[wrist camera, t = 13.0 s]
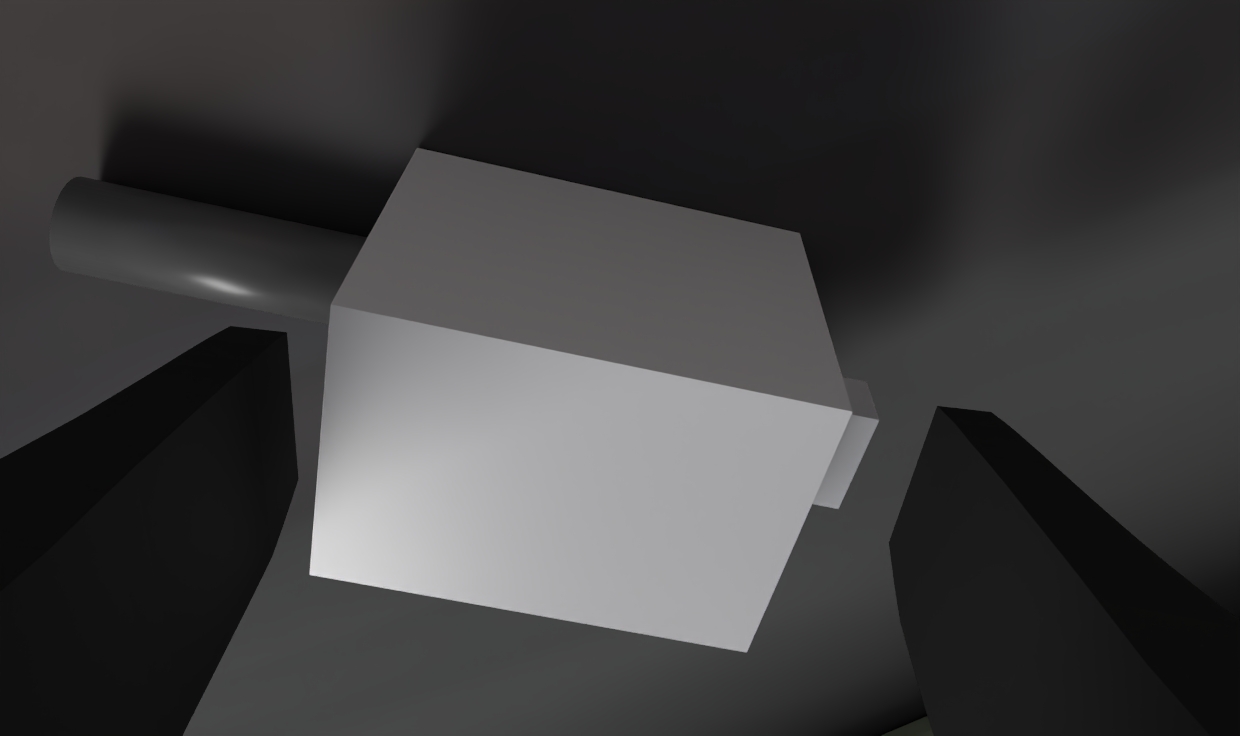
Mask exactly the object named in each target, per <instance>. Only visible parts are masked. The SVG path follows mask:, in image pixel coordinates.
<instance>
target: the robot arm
mask: <svg viewBox="0 0 1240 736" xmlns="http://www.w3.org/2000/svg"><path fill="white" fill-rule="evenodd" d="M297 481H298V469H297V456H296V443H295V431H294V418H293V405H292V392H291V380H290V367H289V354H288V341H287V333H286V332H277V331H269V330H260V329H251V328H242V327H233V326H230V327H228V328H226V329H224V330H222V331H221V332H219V333H217V334H215V335H213V336H211V337H210V338H208V339H206V340H205V341H203V342H201V343H199V344H198V345H196V346H194V347H193V348H191V349H190V350H188V351H186V352H185V353H183V354H181V355H180V356H178V357H176V358H175V359H173V360H172V361H170V362H168V363H167V364H165V365H163V366H162V367H160V368H159V369H157V370H155V371H154V372H152V373H150V374H149V375H147V376H146V377H144V378H142V379H141V380H139V381H137V382H136V383H134V384H132V385H131V386H129V387H127V388H126V389H124V390H122V391H121V392H119V393H117V394H116V395H114V396H112V397H111V398H109V399H107V400H106V401H104V402H102V403H101V404H99V405H97V406H96V407H94V408H92V409H91V410H89V411H87V412H85V413H84V414H82V415H80V416H79V417H77V418H75V419H73V420H71V421H69V422H68V423H66V424H64V425H62V426H60V427H58V428H56V429H55V430H53V431H51V432H49V433H47V434H45V435H44V436H42V437H40V438H38V439H36V440H34V441H32V442H31V443H29V444H27V445H25V446H23V447H21V448H20V449H18V450H16V451H14V452H12V453H10V454H9V455H7V456H5V457H3V458H1V459H0V736H183V734H184V731H185V729H186V727H187V725H188V723H189V721H190V719H191V717H192V715H193V713H194V711H195V709H196V707H197V706H198V704H199V702H200V700H201V698H202V696H203V694H204V692H205V690H206V688H207V686H208V684H209V682H210V680H211V678H212V676H213V674H214V672H215V670H216V668H217V666H218V664H219V662H220V660H221V658H222V656H223V654H224V652H225V650H226V648H227V646H228V644H229V642H230V640H231V638H232V636H233V634H234V632H235V630H236V628H237V626H238V625H239V623H240V621H241V619H242V617H243V615H244V613H245V611H246V609H247V607H248V605H249V602H250V600H251V598H252V596H253V594H254V592H255V590H256V588H257V586H258V584H259V582H260V580H261V578H262V576H263V574H264V572H265V570H266V568H267V566H268V564H269V562H270V560H271V558H272V555H273V552H274V550H275V547H276V544H277V541H278V538H279V536H280V533H281V530H282V527H283V524H284V521H285V518H286V515H287V512H288V509H289V506H290V503H291V500H292V497H293V494H294V491H295V488H296V485H297ZM889 546H890V554H891V562H892V569H893V577H894V585H895V591H896V597H897V604H898V610H899V616H900V622H901V626H902V629H903V633H904V637H905V640H906V644H907V647H908V651H909V654H910V658H911V661H912V665H913V668H914V672H915V675H916V679H917V682H918V686H919V689H920V692H921V696H922V699H923V702H924V706H925V709H926V712H927V716H928V719H929V723H930V726H931V729H932V733H933V736H1240V620H1239V619H1237V618H1236V617H1235V616H1233V615H1232V614H1231V613H1229V612H1228V611H1226V610H1225V609H1224V608H1223V607H1221V606H1220V605H1219V604H1217V603H1216V602H1215V601H1214V600H1212V599H1211V598H1210V597H1208V596H1207V595H1206V594H1205V593H1203V592H1202V591H1201V590H1200V589H1198V588H1197V587H1196V586H1195V585H1193V584H1192V583H1191V582H1190V581H1188V580H1187V579H1186V578H1184V577H1183V576H1182V575H1181V574H1179V573H1178V572H1177V571H1176V570H1174V569H1173V568H1172V567H1171V566H1169V565H1168V564H1167V563H1166V562H1164V561H1163V560H1162V559H1161V558H1160V557H1158V556H1157V555H1156V554H1155V553H1154V552H1152V551H1151V550H1150V549H1149V548H1148V547H1146V546H1145V545H1144V544H1143V543H1142V542H1140V541H1139V540H1138V539H1137V538H1136V537H1135V536H1133V535H1132V534H1131V533H1130V532H1129V531H1128V530H1126V529H1125V528H1124V527H1123V526H1122V525H1121V524H1120V523H1118V522H1117V521H1116V520H1115V519H1114V518H1113V517H1112V516H1110V515H1109V514H1108V513H1107V512H1106V511H1105V510H1104V509H1102V508H1101V507H1100V506H1099V505H1098V504H1097V503H1096V502H1094V501H1093V500H1092V499H1091V498H1090V497H1089V496H1088V495H1087V494H1085V493H1084V492H1083V491H1082V490H1081V489H1080V488H1079V487H1078V486H1077V485H1075V484H1074V483H1073V482H1072V481H1071V480H1070V479H1069V478H1068V477H1067V476H1065V475H1064V474H1063V473H1062V472H1061V471H1060V470H1059V469H1058V468H1056V467H1055V466H1054V465H1053V464H1052V463H1051V462H1050V461H1049V460H1048V459H1046V458H1045V457H1044V456H1043V455H1042V454H1041V453H1040V452H1039V451H1037V450H1036V449H1035V448H1034V447H1033V446H1032V445H1031V444H1030V443H1028V442H1027V441H1026V440H1025V439H1024V438H1023V437H1022V436H1020V435H1019V434H1018V433H1017V432H1016V431H1015V430H1013V429H1012V428H1011V427H1010V426H1008V425H1007V424H1006V423H1005V422H1003V421H1002V420H1001V419H1000V418H998V417H997V416H996V415H994V414H993V413H992V412H985V411H976V410H968V409H959V408H950V407H941V406H937V409H936V411H935V414H934V417H933V420H932V423H931V425H930V428H929V431H928V434H927V437H926V440H925V442H924V445H923V448H922V451H921V454H920V457H919V459H918V462H917V465H916V468H915V471H914V473H913V476H912V479H911V482H910V485H909V488H908V490H907V493H906V496H905V499H904V502H903V505H902V507H901V510H900V513H899V516H898V519H897V521H896V524H895V527H894V530H893V533H892V536H891V538H890V541H889Z"/></svg>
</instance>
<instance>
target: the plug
mask: <svg viewBox="0 0 1240 736" xmlns="http://www.w3.org/2000/svg"><path fill="white" fill-rule="evenodd" d="M49 242H50V251H51V255H52V258H53V261H54V263H55V264H56V266H57V267H58V268H59V269H60V270H62V271H66V272H71V273H76V274H81V275H86V276H91V277H96V278H101V279H106V280H111V281H116V282H121V283H125V284H130V285H135V286H140V287H145V288H150V289H155V290H160V291H165V292H170V293H175V294H180V295H184V296H189V297H194V298H199V299H204V300H209V301H214V302H219V303H224V304H229V305H234V306H238V307H243V308H248V309H253V310H258V311H263V312H268V313H273V314H278V315H283V316H288V317H293V318H297V319H302V320H307V321H312V322H317V323H322V324H327V325H329V332H328V345H327V358H326V371H325V384H324V396H323V409H322V422H321V435H320V448H319V461H318V473H317V486H316V499H315V512H314V525H313V537H312V550H311V563H310V575H314V576H319V577H325V578H331V579H336V580H342V581H348V582H353V583H359V584H364V585H370V586H376V587H381V588H387V589H393V590H398V591H404V592H409V593H415V594H421V595H426V596H432V597H438V598H443V599H449V600H454V601H460V602H466V603H471V604H477V605H483V606H488V607H494V608H499V609H505V610H511V611H516V612H522V613H527V614H533V615H539V616H544V617H550V618H556V619H561V620H567V621H572V622H578V623H584V624H589V625H595V626H601V627H606V628H612V629H617V630H623V631H629V632H634V633H640V634H646V635H651V636H657V637H662V638H668V639H674V640H679V641H685V642H691V643H696V644H702V645H707V646H713V647H719V648H724V649H730V650H736V651H741V652H747V651H748V649H749V646H750V644H751V642H752V639H753V637H754V635H755V633H756V630H757V628H758V626H759V624H760V621H761V619H762V617H763V614H764V612H765V610H766V608H767V605H768V603H769V601H770V599H771V596H772V594H773V592H774V589H775V587H776V585H777V583H778V580H779V578H780V576H781V574H782V571H783V569H784V567H785V564H786V562H787V560H788V558H789V555H790V553H791V551H792V549H793V546H794V544H795V542H796V539H797V537H798V535H799V533H800V530H801V528H802V526H803V524H804V521H805V519H806V517H807V514H808V512H809V510H810V508H811V505H812V504H815V505H820V506H826V507H831V508H836V509H839V506H840V504H841V502H842V500H843V498H844V496H845V493H846V491H847V489H848V487H849V485H850V483H851V480H852V478H853V476H854V474H855V472H856V470H857V467H858V465H859V463H860V461H861V459H862V457H863V454H864V452H865V450H866V448H867V446H868V443H869V441H870V439H871V437H872V435H873V433H874V430H875V428H876V426H877V424H878V422H879V418H878V415H877V412H876V409H875V406H874V403H873V400H872V397H871V394H870V391H869V388H868V385H867V382H864V381H860V380H855V379H850V378H845V377H842V374H841V371H840V367H839V364H838V361H837V357H836V354H835V351H834V347H833V344H832V340H831V337H830V334H829V330H828V327H827V324H826V320H825V317H824V313H823V310H822V307H821V303H820V300H819V297H818V293H817V290H816V286H815V283H814V280H813V276H812V273H811V270H810V266H809V263H808V260H807V256H806V253H805V249H804V246H803V243H802V239H801V236H800V233H797V232H792V231H788V230H783V229H779V228H774V227H770V226H765V225H761V224H757V223H752V222H748V221H743V220H739V219H734V218H730V217H725V216H721V215H716V214H712V213H707V212H703V211H698V210H694V209H689V208H685V207H680V206H676V205H672V204H667V203H663V202H658V201H654V200H649V199H645V198H640V197H636V196H631V195H627V194H622V193H618V192H613V191H609V190H604V189H600V188H595V187H591V186H586V185H582V184H578V183H573V182H569V181H564V180H560V179H555V178H551V177H546V176H542V175H537V174H533V173H528V172H524V171H519V170H515V169H510V168H506V167H501V166H497V165H492V164H488V163H484V162H479V161H475V160H470V159H466V158H461V157H457V156H452V155H448V154H443V153H439V152H434V151H430V150H425V149H421V148H417V149H416V150H415V152H414V154H413V156H412V158H411V160H410V161H409V163H408V165H407V167H406V169H405V170H404V172H403V174H402V176H401V178H400V180H399V181H398V183H397V185H396V187H395V189H394V190H393V192H392V194H391V196H390V198H389V199H388V201H387V203H386V205H385V207H384V209H383V210H382V212H381V214H380V216H379V218H378V219H377V221H376V223H375V225H374V227H373V229H372V230H371V232H370V234H369V236H368V238H367V237H362V236H357V235H352V234H348V233H343V232H338V231H334V230H329V229H324V228H320V227H315V226H310V225H306V224H301V223H296V222H291V221H287V220H282V219H277V218H273V217H268V216H263V215H259V214H254V213H249V212H245V211H240V210H235V209H231V208H226V207H221V206H216V205H212V204H207V203H202V202H198V201H193V200H188V199H184V198H179V197H174V196H170V195H165V194H160V193H155V192H151V191H146V190H141V189H137V188H132V187H127V186H123V185H118V184H113V183H109V182H104V181H99V180H94V179H90V178H85V177H76V178H73V179H72V180H70V181H69V182H68V183H67V184H66V185H65V187H64V188H63V190H62V191H61V193H60V195H59V197H58V199H57V201H56V204H55V207H54V210H53V213H52V218H51V223H50V233H49Z"/></svg>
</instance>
